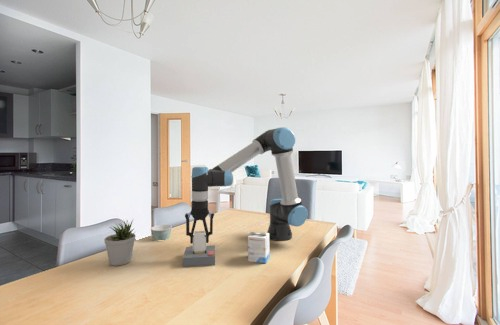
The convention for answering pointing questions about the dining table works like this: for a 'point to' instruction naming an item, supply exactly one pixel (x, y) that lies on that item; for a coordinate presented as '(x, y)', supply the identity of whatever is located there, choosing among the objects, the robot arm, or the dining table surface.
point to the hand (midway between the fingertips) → (199, 249)
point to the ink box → (258, 247)
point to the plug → (199, 242)
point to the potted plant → (120, 245)
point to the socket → (199, 257)
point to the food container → (161, 232)
